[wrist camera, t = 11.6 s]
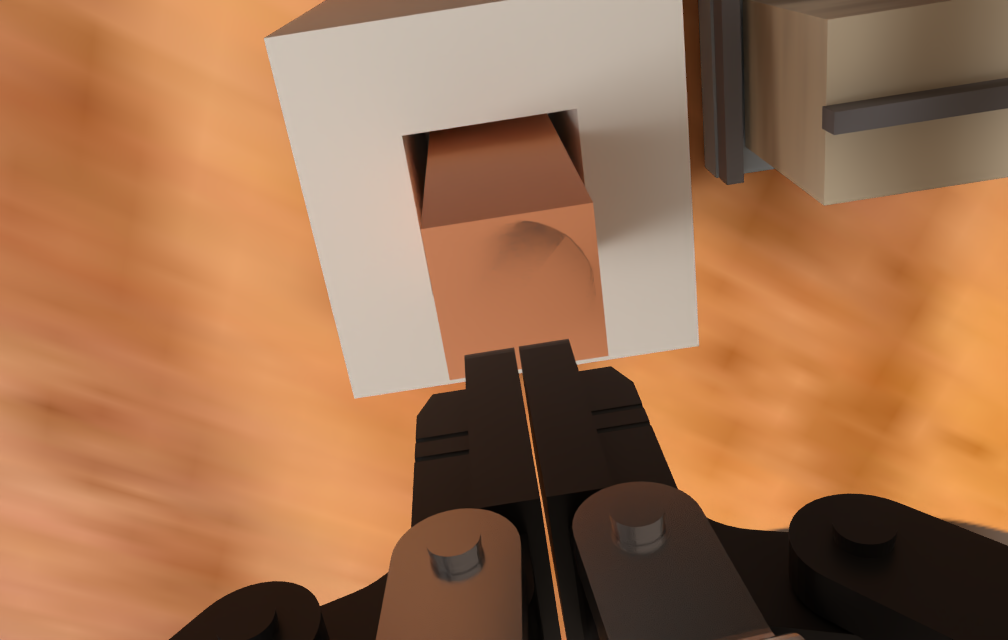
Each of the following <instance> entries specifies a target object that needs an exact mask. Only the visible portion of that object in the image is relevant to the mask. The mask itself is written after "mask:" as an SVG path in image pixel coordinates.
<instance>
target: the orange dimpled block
mask: <svg viewBox="0 0 1008 640" xmlns="http://www.w3.org/2000/svg"><path fill="white" fill-rule="evenodd" d="M421 234H422V239H423V245H424V250H425V255H426V260H427V265H428V270H429V276H430V281H431V286H432V291H433V296H434V301H435V307H436V312H437V317H438V322H439V327H440V332H441V338H442V343H443V348H444V353H445V358H446V363H447V368H448V374H449V379H450V380H454V379H461V378H465V360H464V355H468V354H475V353H481V352H487V351H494V350H500V349H507V348H513V347H514V349H515V355H516V361H517V367H518V370H519V369H522V367H521V360H520V353H519V346H525V345H531V344H537V343H544V342H550V341H557V340H563V339H569V341H570V344H571V348H572V351H573V354H574V358H575V361H578V360H585V359H591V358H598V357H604V356H609V355H608V345H607V335H606V325H605V315H604V305H603V295H602V285H601V275H600V266H599V256H598V246H597V236H596V226H595V216H594V206H593V201H592V199H591V197H590V196H589V194H588V192H587V190H586V188H585V186H584V184H583V182H582V180H581V178H580V176H579V174H578V172H577V170H576V169H575V167H574V165H573V163H572V161H571V159H570V157H569V155H568V153H567V151H566V149H565V147H564V145H563V143H562V141H561V140H560V138H559V136H558V134H557V132H556V130H555V128H554V126H553V124H552V122H551V120H550V118H549V116H548V114H547V113H545V114H539V115H532V116H526V117H519V118H513V119H507V120H500V121H494V122H487V123H481V124H474V125H468V126H461V127H455V128H449V129H442V130H436V131H430V134H429V145H428V156H427V166H426V177H425V187H424V198H423V209H422V219H421Z"/></svg>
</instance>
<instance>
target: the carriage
mask: <svg viewBox="0 0 1008 640" xmlns="http://www.w3.org/2000/svg"><path fill="white" fill-rule="evenodd" d="M743 49H744V99H745V147H747V148H748V149H749V150H751V151H752V152H753V153H755V154H756V155H757V156H759V157H760V158H761V159H763V160H764V161H765V162H767V163H768V164H769V165H771V166H772V167H773V168H775V169H776V170H777V171H779V172H780V173H781V174H783V175H784V176H785V177H787V178H788V179H789V180H791V181H792V182H793V183H795V184H796V185H797V186H799V187H800V188H801V189H803V190H804V191H805V192H807V193H808V194H809V195H811V196H812V197H813V198H815V199H816V200H817V201H819V202H820V203H821V204H823V205H830V204H837V203H843V202H850V201H856V200H863V199H869V198H876V197H882V196H889V195H895V194H902V193H908V192H915V191H921V190H928V189H934V188H941V187H947V186H954V185H960V184H967V183H973V182H980V181H986V180H993V179H999V178H1006V177H1008V0H743Z"/></svg>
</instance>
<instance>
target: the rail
mask: <svg viewBox="0 0 1008 640" xmlns="http://www.w3.org/2000/svg"><path fill="white" fill-rule="evenodd" d="M698 7H699V32H700V56H701V81H702V105H703V130H704V154H705V168H706V169H708V170H709V171H710V172H711V173H712V174H713V175H714V176H715V177H716V178H718V177H719V178H720V179H721V180H722V181H723V182H724V183H726V184H727V185H730V184H737V183H743V182H744V173H750V172H757V171H763V170H770V169H775V168H773V167H772V166H771V165H769V164H768V163H767V162H765V161H764V160H763V159H761V158H760V157H759V156H757V155H756V154H755V153H753V152H752V151H751V150H749V149H748V148H747V147H745V99H744V49H743V0H698Z"/></svg>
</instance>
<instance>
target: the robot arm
mask: <svg viewBox="0 0 1008 640" xmlns="http://www.w3.org/2000/svg"><path fill="white" fill-rule="evenodd" d="M519 353H520V360H521V367H522V374H523V380H524V387H525V393H526V400H527V407H528V413H529V420H530V427H531V433H532V440H533V446H534V453H535V459H536V465H537V471H538V477H539V483H540V489H541V495H542V500H543V506H544V512H545V518H546V523H547V529H548V535H549V541H550V546H551V552H552V558H553V563H554V569H555V575H556V581H557V586H558V592H559V598H560V604H561V609H562V615H563V621H564V627H565V632H566V638H567V640H1008V546H1007V545H1004V544H1002V543H999V542H997V541H994V540H992V539H989V538H987V537H984V536H981V535H979V534H976V533H974V532H971V531H969V530H966V529H964V528H961V527H959V526H956V525H954V524H951V523H949V522H946V521H943V520H941V519H938V518H936V517H933V516H931V515H928V514H926V513H923V512H921V511H918V510H916V509H913V508H910V507H908V506H905V505H903V504H900V503H898V502H895V501H892V500H889V499H886V498H881V497H877V496H872V495H864V494H838V495H832V496H826V497H823V498H820V499H817V500H814V501H812V502H810V503H808V504H806V505H805V506H804V507H802V508H801V509H800V510H799V511H798V512H797V513H796V514H795V515H794V517H793V519H792V521H791V523H790V527H789V532H777V531H763V530H750V529H742V528H736V527H732V526H727V525H724V524H721V523H718V522H715V521H713V520H711V519H709V518H706V516H705V514H704V513H703V511H702V509H701V508H700V506H699V505H698V504H697V502H696V501H695V500H694V499H693V498H691V497H690V496H689V495H687V494H686V493H684V492H683V491H681V490H679V489H678V488H677V486H676V484H675V481H674V479H673V476H672V474H671V472H670V469H669V467H668V464H667V462H666V460H665V457H664V455H663V452H662V450H661V448H660V445H659V443H658V440H657V438H656V436H655V433H654V431H653V428H652V426H651V425H650V422H649V419H648V416H647V414H646V412H645V409H644V408H643V406H642V402H641V400H640V397H639V395H638V393H637V390H636V388H635V385H634V383H633V382H632V381H631V380H629V379H628V378H627V377H625V376H624V375H622V374H621V373H619V372H618V371H617V370H615V369H614V368H612V367H611V366H610V367H604V368H597V369H591V370H585V371H578V367H577V364H576V361H575V358H574V354H573V351H572V348H571V344H570V341H569V339H563V340H557V341H550V342H544V343H537V344H531V345H525V346H519ZM464 360H465V380H466V389H465V390H458V391H452V392H446V393H439V394H433V395H432V396H431V397H430V399H429V400H428V402H427V403H426V404H425V406H424V407H423V409H422V410H421V411H420V413H419V414H418V416H417V424H416V444H415V463H414V483H413V502H412V522H411V528H410V529H409V530H408V531H407V532H406V533H405V534H404V535H403V536H402V537H401V538H400V540H399V541H398V542H397V544H396V546H395V548H394V550H393V553H392V556H391V561H390V566H389V572H388V573H387V574H385V575H384V576H382V577H381V578H380V579H378V580H377V581H375V582H374V583H372V584H370V585H369V586H367V587H365V588H363V589H361V590H359V591H356V592H354V593H352V594H349V595H347V596H344V597H342V598H339V599H337V600H335V601H332V602H330V603H327V604H325V605H322V606H319V603H318V601H317V599H316V597H315V596H314V595H313V594H312V593H311V592H310V591H309V590H308V589H306V588H304V587H303V586H300V585H297V584H294V583H290V582H281V581H272V582H264V583H258V584H254V585H250V586H247V587H244V588H241V589H239V590H236V591H234V592H232V593H230V594H228V595H226V596H224V597H223V598H221V599H219V600H218V601H216V602H215V603H213V604H212V605H211V606H209V607H208V608H207V609H205V610H204V611H203V612H202V613H200V614H199V615H198V616H197V617H196V618H194V619H193V620H192V621H191V622H190V623H188V624H187V625H186V626H185V627H184V628H182V629H181V630H180V631H179V632H178V633H176V634H175V635H174V636H173V637H172V638H170V639H169V640H561V634H560V627H559V621H558V614H557V607H556V601H555V594H554V588H553V581H552V575H551V568H550V561H549V555H548V548H547V542H546V535H545V528H544V522H543V515H542V509H541V502H540V496H539V490H538V484H537V478H536V472H535V466H534V461H533V455H532V449H531V443H530V437H529V431H528V425H527V420H526V414H525V408H524V402H523V396H522V390H521V384H520V379H519V373H518V367H517V361H516V355H515V349H514V347H513V348H507V349H500V350H494V351H487V352H481V353H475V354H468V355H464Z"/></svg>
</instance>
